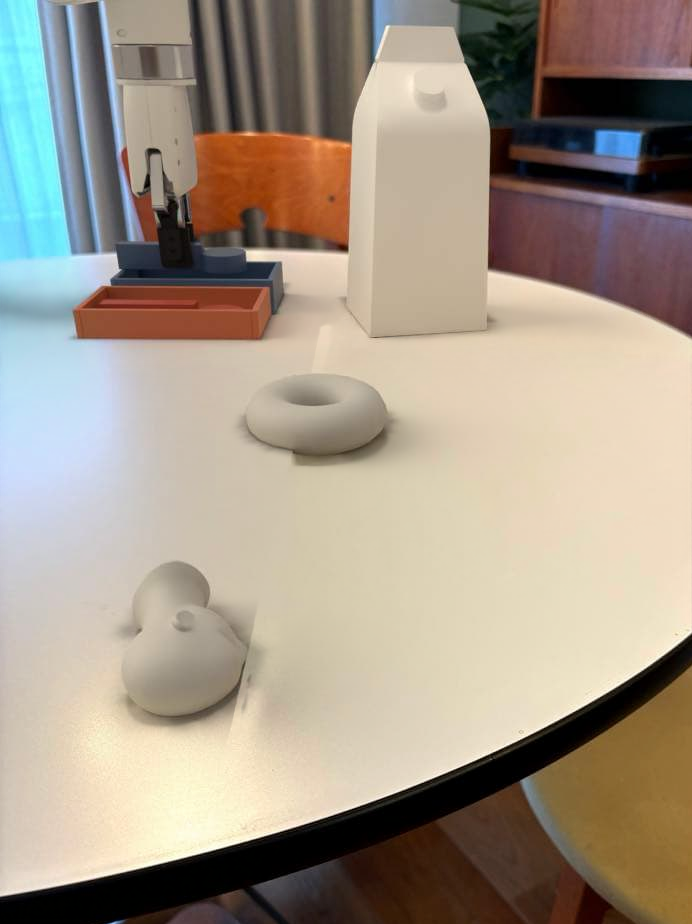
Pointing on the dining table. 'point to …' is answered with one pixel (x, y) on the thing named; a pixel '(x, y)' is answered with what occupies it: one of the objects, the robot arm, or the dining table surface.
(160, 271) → the tray blue
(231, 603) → the dining table surface
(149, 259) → the blue spoon
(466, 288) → the milk
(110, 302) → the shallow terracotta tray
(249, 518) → the dining table surface
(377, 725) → the dining table surface
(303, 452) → the donut
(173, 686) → the pale two-lobed sculpture
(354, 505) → the dining table surface
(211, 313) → the tray red
